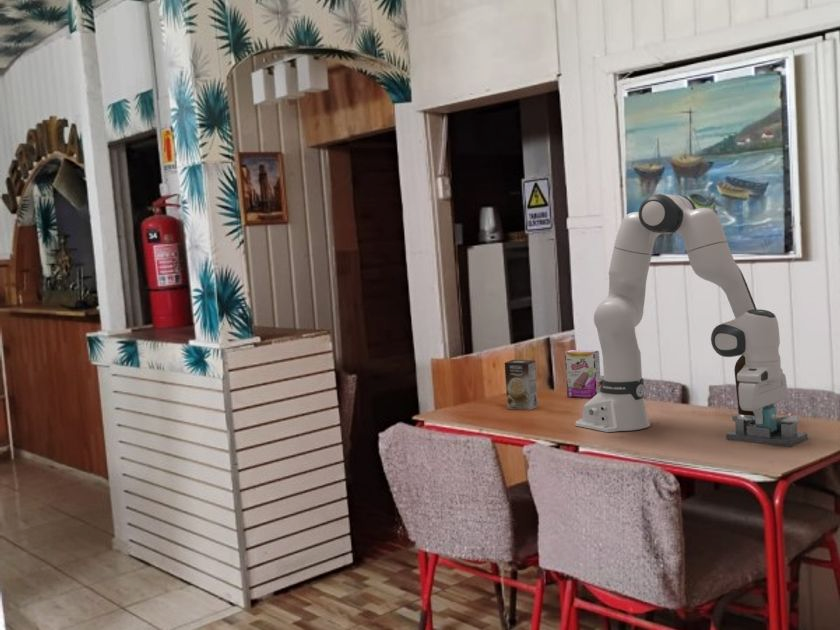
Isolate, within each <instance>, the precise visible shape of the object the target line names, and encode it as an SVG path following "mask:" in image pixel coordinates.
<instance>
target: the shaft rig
mask: <svg viewBox="0 0 840 630" xmlns="http://www.w3.org/2000/svg"><path fill="white" fill-rule="evenodd" d="M732 421H733V422H735V423H734V424H735V425H734V427H735V429H733V430H731V431H729V432H727V433H725V440H730V441H737V442H738V441H739V442H746V443H756V444H764V445H771V446H780V447H789V448H790V447H792V446H796V445H797V444H799V443H801V442H804V441H806V440H808V433H807V432H801V431H800V432H798V423H800V416H799V415H798V414H793V415H789V416H782V417H776V425H777V430H774V431H772V432H771V428H765V427H755V425H751V423H754V422H755V417H754V416H751V415H741V414H737V413H733V414H732Z"/></svg>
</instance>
